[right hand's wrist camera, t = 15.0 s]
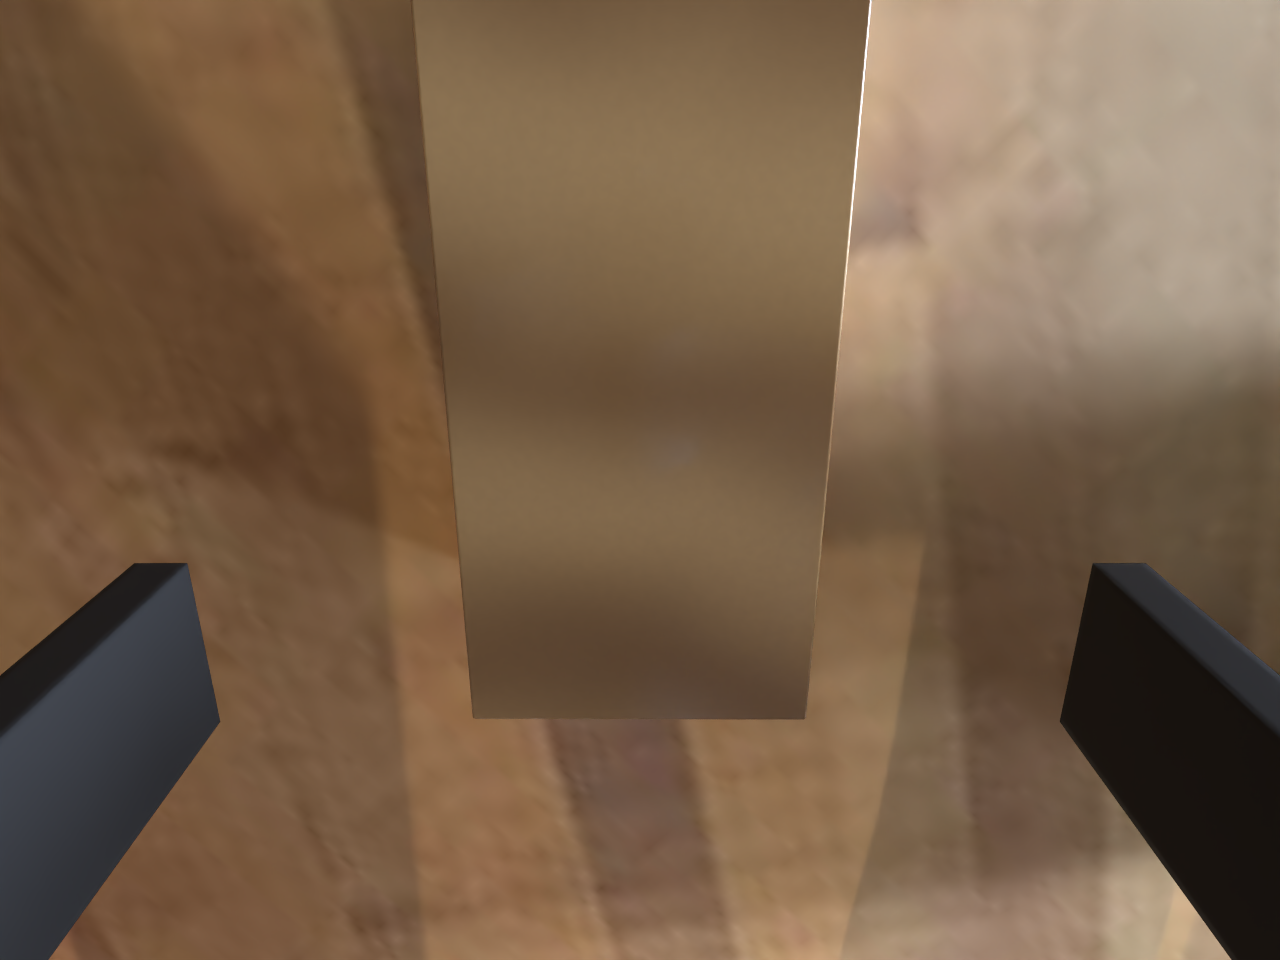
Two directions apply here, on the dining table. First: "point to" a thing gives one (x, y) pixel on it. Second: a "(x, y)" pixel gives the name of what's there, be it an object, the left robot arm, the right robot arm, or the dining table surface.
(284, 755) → the dining table surface
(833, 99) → the thick board
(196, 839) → the dining table surface
